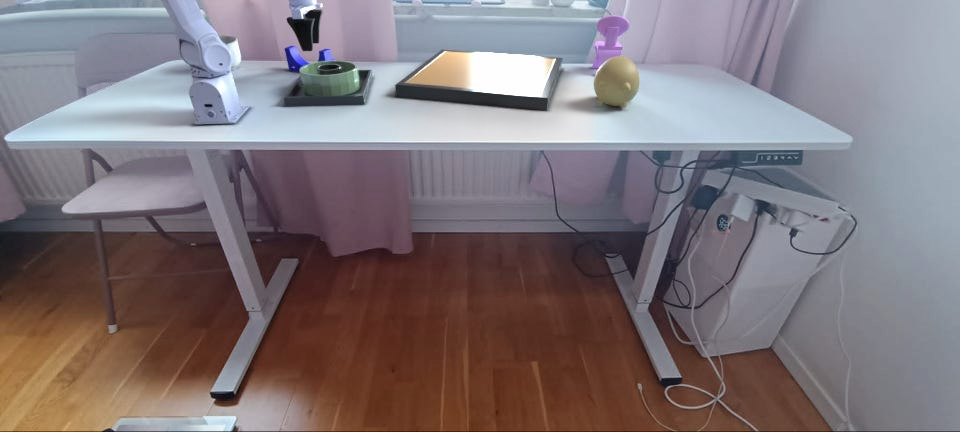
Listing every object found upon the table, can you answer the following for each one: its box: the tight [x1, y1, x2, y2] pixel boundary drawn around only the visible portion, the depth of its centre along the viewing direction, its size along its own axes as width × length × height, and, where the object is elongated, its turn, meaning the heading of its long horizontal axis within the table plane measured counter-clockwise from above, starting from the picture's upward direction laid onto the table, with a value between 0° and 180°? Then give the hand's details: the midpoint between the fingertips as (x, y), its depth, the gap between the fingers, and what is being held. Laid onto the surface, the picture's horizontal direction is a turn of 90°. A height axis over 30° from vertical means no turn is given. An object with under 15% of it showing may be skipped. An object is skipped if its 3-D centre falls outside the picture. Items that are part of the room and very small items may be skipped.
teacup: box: [218, 34, 242, 72], centre depth 123 cm, size 14×11×8 cm
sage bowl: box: [299, 59, 360, 96], centre depth 110 cm, size 13×13×6 cm
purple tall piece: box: [591, 14, 630, 76], centre depth 123 cm, size 8×9×15 cm
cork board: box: [394, 49, 563, 112], centre depth 118 cm, size 36×3×35 cm
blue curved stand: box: [284, 45, 336, 73], centre depth 124 cm, size 12×4×6 cm, turn 73°
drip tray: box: [283, 69, 373, 107], centre depth 111 cm, size 21×17×2 cm
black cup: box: [317, 64, 342, 75], centre depth 110 cm, size 6×6×5 cm
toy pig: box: [593, 55, 641, 109], centre depth 103 cm, size 10×12×11 cm
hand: (311, 46), depth 107 cm, fingers open, 7 cm apart
